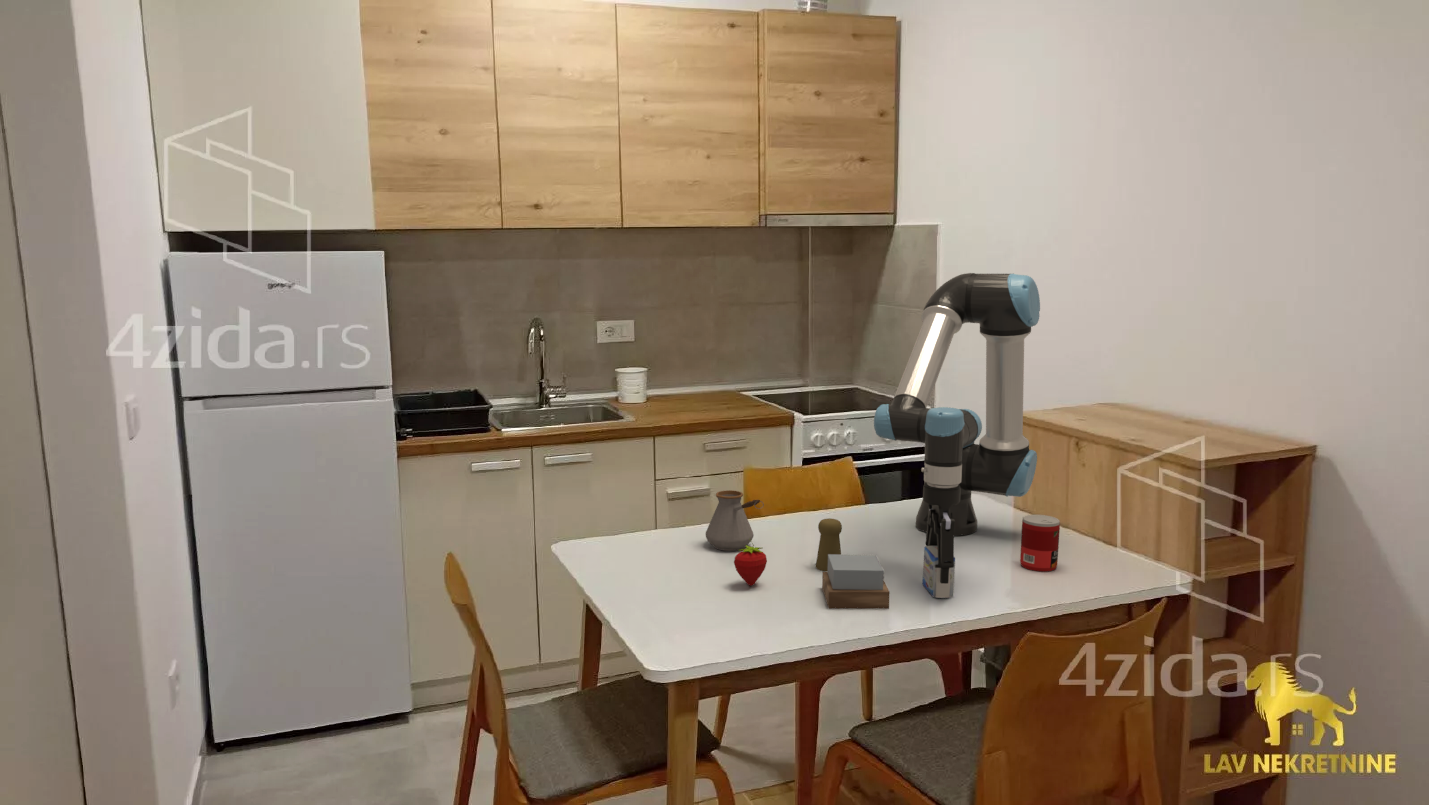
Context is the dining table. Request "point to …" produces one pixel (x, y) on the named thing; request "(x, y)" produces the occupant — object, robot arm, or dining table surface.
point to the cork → (828, 541)
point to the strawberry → (750, 564)
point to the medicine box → (934, 570)
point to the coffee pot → (730, 522)
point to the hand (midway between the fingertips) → (937, 589)
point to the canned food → (1039, 542)
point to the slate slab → (855, 572)
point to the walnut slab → (854, 597)
